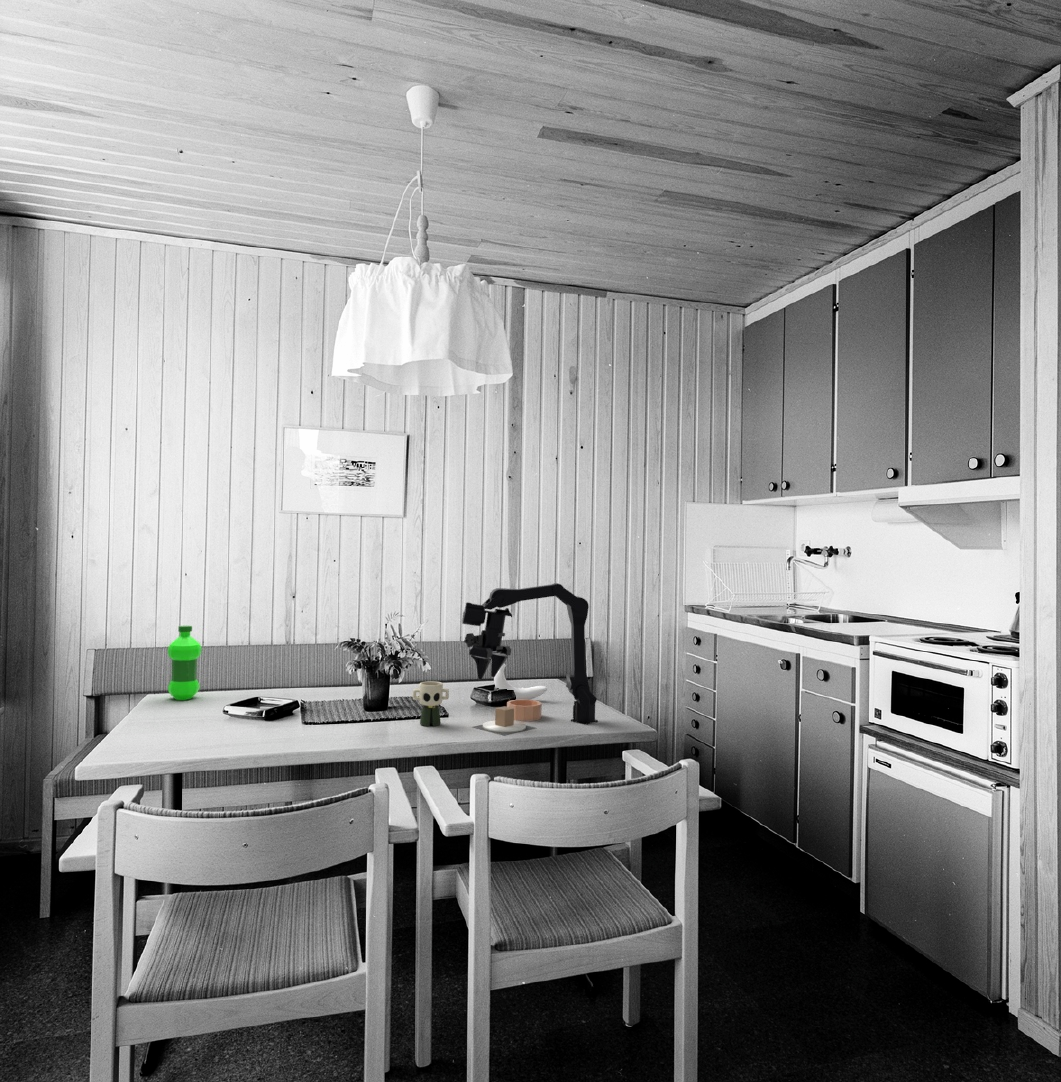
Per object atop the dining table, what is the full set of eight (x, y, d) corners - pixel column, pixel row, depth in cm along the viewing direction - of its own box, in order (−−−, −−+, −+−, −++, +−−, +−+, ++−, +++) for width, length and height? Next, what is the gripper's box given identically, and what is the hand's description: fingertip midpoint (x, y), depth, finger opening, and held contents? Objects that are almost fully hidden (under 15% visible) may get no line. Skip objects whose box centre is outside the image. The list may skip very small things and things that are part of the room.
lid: (534, 728, 235) (535, 708, 235) (504, 735, 225) (504, 715, 225) (504, 720, 244) (504, 702, 244) (473, 727, 234) (474, 707, 234)
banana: (547, 702, 276) (548, 661, 276) (493, 702, 274) (494, 660, 274) (545, 699, 281) (546, 659, 281) (493, 699, 279) (494, 658, 279)
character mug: (413, 729, 232) (414, 685, 232) (411, 723, 239) (412, 681, 239) (449, 728, 234) (450, 685, 234) (446, 722, 241) (447, 680, 241)
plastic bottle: (166, 696, 271) (168, 625, 271) (199, 694, 275) (201, 624, 275) (166, 702, 261) (168, 628, 262) (200, 700, 266) (202, 627, 266)
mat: (536, 729, 235) (536, 727, 235) (504, 737, 225) (504, 735, 225) (504, 721, 244) (504, 720, 244) (471, 728, 234) (471, 727, 234)
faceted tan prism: (547, 718, 250) (548, 703, 250) (524, 723, 242) (525, 707, 242) (523, 713, 257) (523, 698, 257) (500, 718, 249) (500, 702, 249)
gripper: (484, 623, 254) (477, 670, 253) (457, 624, 237) (449, 675, 236) (515, 629, 249) (507, 677, 249) (490, 630, 232) (482, 682, 232)
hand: (486, 678), depth 242 cm, fingers open, 9 cm apart
